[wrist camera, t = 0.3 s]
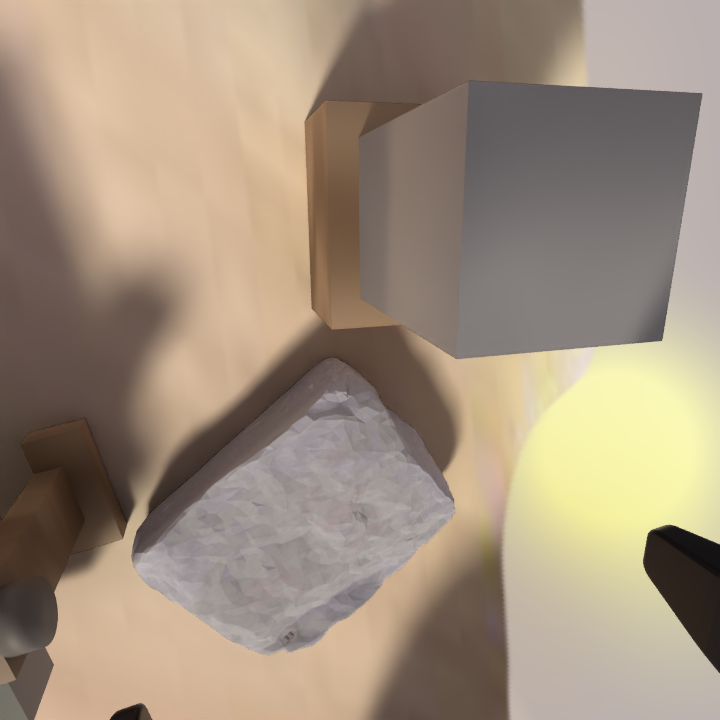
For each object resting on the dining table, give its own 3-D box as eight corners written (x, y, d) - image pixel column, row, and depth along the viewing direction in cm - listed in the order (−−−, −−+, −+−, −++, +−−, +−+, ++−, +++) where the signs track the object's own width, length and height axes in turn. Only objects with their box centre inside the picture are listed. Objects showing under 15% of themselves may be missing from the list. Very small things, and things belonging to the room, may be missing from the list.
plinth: (468, 299, 23) (517, 316, 19) (311, 308, 21) (331, 329, 17) (476, 127, 21) (533, 109, 17) (304, 121, 19) (325, 100, 15)
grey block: (494, 291, 18) (662, 340, 11) (360, 298, 17) (456, 359, 10) (504, 140, 17) (702, 93, 10) (358, 137, 16) (469, 80, 9)
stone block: (439, 451, 27) (324, 328, 21) (490, 514, 23) (366, 382, 17) (270, 599, 27) (114, 515, 22) (292, 686, 23) (108, 610, 18)
